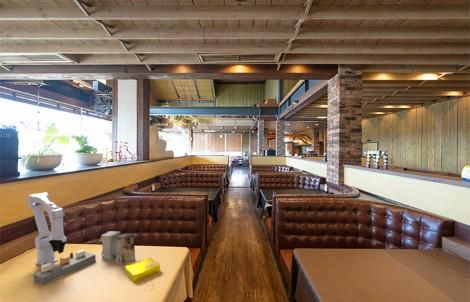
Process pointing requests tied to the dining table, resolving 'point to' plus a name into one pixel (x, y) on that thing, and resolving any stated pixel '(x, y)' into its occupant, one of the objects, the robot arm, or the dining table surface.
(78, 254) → the paddle
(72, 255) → the cord posts
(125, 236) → the coffee box
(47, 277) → the breaker panel
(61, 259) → the orange block
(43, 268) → the paddle
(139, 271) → the element tile
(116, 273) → the dining table surface
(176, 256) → the dining table surface
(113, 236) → the circuit breaker
